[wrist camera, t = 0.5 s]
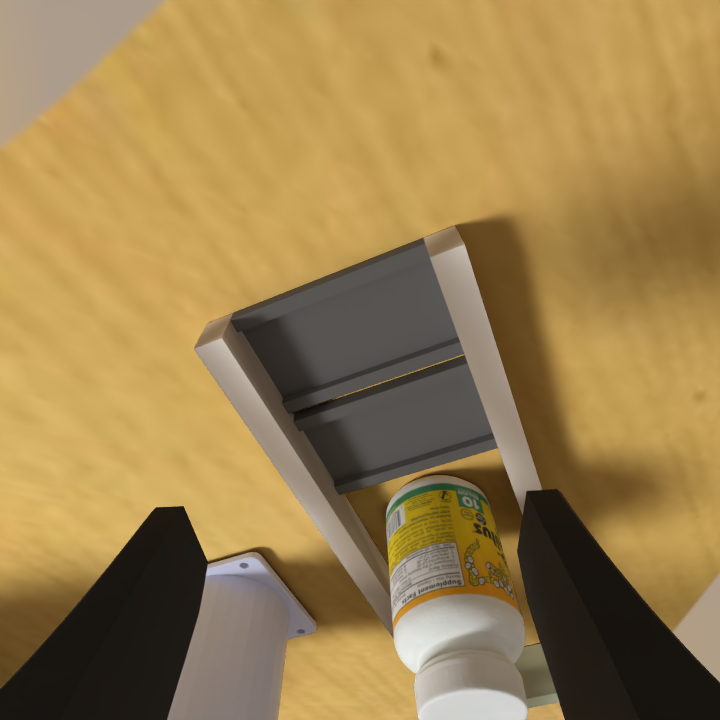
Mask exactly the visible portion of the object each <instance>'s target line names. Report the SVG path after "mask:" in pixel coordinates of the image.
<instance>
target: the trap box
mask: <svg viewBox="0 0 720 720" xmlns="http://www.w3.org/2000/svg"><path fill="white" fill-rule="evenodd" d="M424 241H425V244H426V247H427V250H428V253H429V256H430V259H431V262H432V265H433V268H434V270H435V273H436V276H437V279H438V282H439V284H440V287H441V290H442V293H443V295H444V298H445V301H446V304H447V307H448V309H449V312H450V315H451V318H452V321H453V323H454V326H455V329H456V332H457V334H458V337H459V340H460V343H461V346H462V348H463V351H464V354H465V357H466V360H467V362H468V365H469V368H470V371H471V373H472V376H473V379H474V382H475V385H476V387H477V390H478V393H479V396H480V398H481V401H482V404H483V407H484V410H485V412H486V415H487V418H488V421H489V424H490V426H491V429H492V432H493V435H494V437H495V440H496V443H497V446H498V449H499V451H500V454H501V457H502V460H503V463H504V465H505V468H506V471H507V474H508V476H509V479H510V482H511V485H512V488H513V490H514V493H515V496H516V499H517V501H518V504H519V507H520V510H521V513H522V515H523V510H524V504H525V497H526V491H532V490H542V488H541V484H540V481H539V478H538V475H537V472H536V469H535V465H534V462H533V459H532V456H531V453H530V450H529V446H528V443H527V440H526V437H525V434H524V431H523V427H522V424H521V421H520V418H519V415H518V412H517V408H516V405H515V402H514V399H513V396H512V393H511V389H510V386H509V383H508V380H507V377H506V374H505V370H504V367H503V364H502V361H501V358H500V355H499V352H498V348H497V345H496V342H495V339H494V336H493V333H492V329H491V326H490V323H489V320H488V317H487V314H486V310H485V307H484V304H483V301H482V298H481V295H480V291H479V288H478V285H477V282H476V279H475V276H474V272H473V269H472V266H471V263H470V260H469V257H468V253H467V250H466V247H465V244H464V242H463V240H462V238H461V236H460V235H459V233H458V231H457V229H456V227H455V226H452V227H450V228H447V229H445V230H442V231H439V232H437V233H434V234H432V235H429V236H427V237H424ZM232 314H233V313H232ZM232 314H230V315H227V316H225V317H222V318H220V319H217V320H215V321H212V322H210V323H207V325H206V327H205V328H204V330H203V332H202V334H201V336H200V338H199V340H198V342H197V344H196V345H195V347H194V350H195V352H196V353H197V355H198V356H199V357H200V359H201V360H202V362H203V363H204V365H205V366H206V368H207V369H208V371H209V372H210V373H211V375H212V376H213V378H214V379H215V381H216V382H217V384H218V385H219V386H220V388H221V389H222V391H223V392H224V394H225V395H226V397H227V398H228V399H229V401H230V402H231V404H232V405H233V407H234V408H235V410H236V411H237V413H238V414H239V415H240V417H241V418H242V420H243V421H244V423H245V424H246V426H247V427H248V428H249V430H250V431H251V433H252V434H253V436H254V437H255V439H256V440H257V442H258V443H259V444H260V446H261V447H262V449H263V450H264V452H265V453H266V455H267V456H268V457H269V459H270V460H271V462H272V463H273V465H274V466H275V468H276V469H277V470H278V472H279V473H280V475H281V476H282V478H283V479H284V481H285V482H286V484H287V485H288V486H289V488H290V489H291V491H292V492H293V494H294V495H295V497H296V498H297V499H298V501H299V502H300V504H301V505H302V507H303V508H304V510H305V511H306V513H307V514H308V515H309V517H310V518H311V520H312V521H313V523H314V524H315V526H316V527H317V528H318V530H319V531H320V533H321V534H322V536H323V537H324V539H325V540H326V541H327V543H328V544H329V546H330V547H331V549H332V550H333V552H334V553H335V555H336V556H337V557H338V559H339V560H340V562H341V563H342V565H343V566H344V568H345V569H346V570H347V572H348V573H349V575H350V576H351V578H352V579H353V581H354V582H355V583H356V585H357V586H358V588H359V589H360V591H361V592H362V594H363V595H364V597H365V598H366V599H367V601H368V602H369V604H370V605H371V607H372V608H373V610H374V611H375V612H376V614H377V615H378V617H379V618H380V620H381V621H382V623H383V624H384V626H385V627H386V628H387V630H388V631H389V633H390V634H391V636H392V637H393V639H394V635H393V622H392V606H391V591H390V575H389V566H388V564H387V563H386V561H385V560H384V558H383V556H382V555H381V553H380V551H379V550H378V548H377V547H376V545H375V543H374V542H373V540H372V538H371V537H370V535H369V533H368V532H367V530H366V529H365V527H364V525H363V524H362V522H361V520H360V519H359V517H358V516H357V514H356V512H355V511H354V509H353V507H352V506H351V504H350V503H349V501H348V499H347V498H346V496H345V494H342V495H339V494H338V493H337V491H336V490H335V488H334V480H333V478H332V477H331V475H330V473H329V472H328V470H327V468H326V467H325V465H324V464H323V462H322V460H321V459H320V457H319V455H318V454H317V452H316V451H315V449H314V447H313V446H312V444H311V443H310V441H309V439H308V438H307V436H306V434H305V433H304V431H300V432H299V430H298V429H297V427H296V425H295V424H294V422H293V421H294V415H295V413H294V412H292V413H289V414H288V413H287V411H286V409H285V408H284V406H283V405H282V401H283V397H282V396H281V394H280V392H279V391H278V389H277V387H276V386H275V384H274V383H273V381H272V379H271V378H270V376H269V375H268V373H267V371H266V370H265V368H264V366H263V365H262V363H261V362H260V360H259V358H258V357H257V355H256V353H255V352H254V350H253V349H252V347H251V345H250V344H249V342H248V341H247V339H246V337H245V336H244V334H243V332H242V331H241V332H237V331H236V329H235V328H234V326H233V324H232V323H231V321H230V319H231V317H232ZM514 665H515V666H516V668H517V670H518V671H519V673H520V674H521V676H522V679H523V686H524V690H525V694H526V699H527V704H528V708H532V707H537V706H542V705H548V704H553V703H558V702H559V699H558V696H557V693H556V690H555V687H554V684H553V681H552V677H551V674H550V671H549V668H548V665H547V662H546V659H545V655H544V652H543V649H542V646H541V643H540V644H536V645H531V646H526V647H524V648H523V651H522V653H521V655H520V657H519V658H518V660H517V661H516V662H515V663H514Z"/></svg>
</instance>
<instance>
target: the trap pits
mask: <svg viewBox="0 0 720 720" xmlns="http://www.w3.org/2000/svg"><path fill="white" fill-rule="evenodd" d="M230 321H231V323H232V324H233V326H234V328H235V329H236V331H237V332H241V331H242V332H243V334H244V336H245V337H246V339H247V341H248V342H249V344H250V345H251V347H252V349H253V350H254V352H255V353H256V355H257V357H258V358H259V360H260V362H261V363H262V365H263V366H264V368H265V370H266V371H267V373H268V375H269V376H270V378H271V379H272V381H273V383H274V384H275V386H276V387H277V389H278V391H279V392H280V394H281V396H282V397H283V401H282V405H283V406H284V408H285V409H286V411H287V413H288V414H289V413H292V412H295V411H298V410H301V409H304V408H307V407H310V406H312V405H315V404H318V403H321V402H324V401H327V400H330V399H333V398H336V397H339V396H342V395H345V394H348V393H351V392H353V391H356V390H359V389H362V388H365V387H368V386H371V385H374V384H377V383H380V382H383V381H386V380H389V379H392V378H394V377H397V376H400V375H403V374H406V373H409V372H412V371H415V370H418V369H421V368H424V367H427V366H430V365H432V364H435V363H438V362H441V361H444V360H447V359H450V358H453V357H456V356H459V355H462V354H464V351H463V348H462V346H461V343H460V340H459V337H458V334H457V332H456V329H455V326H454V323H453V321H452V318H451V315H450V312H449V309H448V307H447V304H446V301H445V298H444V295H443V293H442V290H441V287H440V284H439V282H438V279H437V276H436V273H435V270H434V268H433V265H432V262H431V259H430V256H429V253H428V250H427V247H426V244H425V241H424V238H422V239H419V240H417V241H414V242H412V243H409V244H407V245H404V246H402V247H399V248H397V249H394V250H391V251H389V252H386V253H384V254H381V255H379V256H376V257H374V258H371V259H369V260H366V261H364V262H361V263H359V264H356V265H354V266H351V267H349V268H346V269H343V270H341V271H338V272H336V273H333V274H331V275H328V276H326V277H323V278H321V279H318V280H316V281H313V282H311V283H308V284H306V285H303V286H301V287H298V288H295V289H293V290H290V291H288V292H285V293H283V294H280V295H278V296H275V297H273V298H270V299H268V300H265V301H263V302H260V303H258V304H255V305H253V306H250V307H247V308H245V309H242V310H240V311H237V312H235V313H233V314H232V317H231V319H230ZM293 422H294V424H295V425H296V427H297V429H298V430H299V432H300V431H304V433H305V434H306V436H307V438H308V439H309V441H310V443H311V444H312V446H313V447H314V449H315V451H316V452H317V454H318V455H319V457H320V459H321V460H322V462H323V464H324V465H325V467H326V468H327V470H328V472H329V473H330V475H331V477H332V478H333V480H334V488H335V490H336V491H337V493H338V494H339V495H342V494H345V493H348V492H352V491H355V490H358V489H362V488H365V487H368V486H372V485H375V484H379V483H382V482H385V481H389V480H392V479H395V478H399V477H402V476H405V475H409V474H412V473H415V472H419V471H422V470H425V469H429V468H432V467H435V466H439V465H442V464H445V463H449V462H452V461H456V460H459V459H462V458H466V457H469V456H472V455H476V454H479V453H482V452H486V451H489V450H492V449H496V448H498V446H497V443H496V440H495V437H494V435H493V432H492V429H491V426H490V424H489V421H488V418H487V415H486V412H485V410H484V407H483V404H482V401H481V398H480V396H479V393H478V390H477V387H476V385H475V382H474V379H473V376H472V373H471V371H470V368H469V365H468V362H467V360H466V357H465V356H462V357H459V358H456V359H453V360H450V361H448V362H445V363H442V364H439V365H436V366H433V367H430V368H427V369H424V370H421V371H418V372H415V373H412V374H409V375H406V376H404V377H401V378H398V379H395V380H392V381H389V382H386V383H383V384H380V385H377V386H374V387H371V388H368V389H365V390H362V391H360V392H357V393H354V394H351V395H348V396H345V397H342V398H339V399H336V400H333V401H330V402H327V403H324V404H321V405H318V406H315V407H313V408H310V409H307V410H304V411H301V412H298V413H295V415H294V421H293Z"/></svg>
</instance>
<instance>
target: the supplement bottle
mask: <svg viewBox="0 0 720 720" xmlns="http://www.w3.org/2000/svg"><path fill="white" fill-rule="evenodd" d="M386 533H387V547H388V560H389V575H390V591H391V606H392V622H393V635H394V643H395V647H396V650H397V653H398V655H399V657H400V659H401V660H402V661H403V663H404V664H405V665H406V666H407V667H408V668H409V669H410V670H411V671H413V672H414V673H416V677H415V683H414V691H415V696H416V704H417V713H418V719H419V720H526V718H527V716H528V704H527V699H526V694H525V690H524V686H523V679H522V676H521V674H520V673H519V671H518V670H517V668H516V666H515V665H514V663H515V662H516V661H517V660H518V658H519V657H520V655H521V653H522V651H523V648H524V645H525V638H526V633H525V626H524V621H523V616H522V613H521V610H520V606H519V603H518V600H517V596H516V593H515V590H514V586H513V582H512V579H511V576H510V573H509V570H508V566H507V562H506V559H505V556H504V553H503V550H502V545H501V542H500V538H499V535H498V532H497V528H496V525H495V521H494V518H493V514H492V511H491V508H490V504H489V502H488V499H487V498H486V496H485V495H484V493H483V492H482V491H481V490H480V489H479V488H478V487H477V486H476V485H474V484H472V483H470V482H468V481H465V480H463V479H460V478H457V477H454V476H447V475H433V476H427V477H423V478H420V479H417V480H414V481H412V482H410V483H408V484H406V485H405V486H403V487H402V488H401V489H400V490H399V491H397V492H396V493H395V495H394V496H393V497H392V499H391V500H390V502H389V504H388V507H387V511H386Z"/></svg>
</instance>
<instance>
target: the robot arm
mask: <svg viewBox="0 0 720 720" xmlns="http://www.w3.org/2000/svg"><path fill="white" fill-rule="evenodd" d="M517 553H518V558H519V563H520V568H521V573H522V578H523V583H524V587H525V592H526V597H527V601H528V605H529V608H530V611H531V614H532V618H533V621H534V624H535V627H536V630H537V633H538V637H539V640H540V643H541V646H542V649H543V652H544V655H545V659H546V662H547V665H548V668H549V671H550V674H551V677H552V681H553V684H554V687H555V690H556V693H557V696H558V699H559V702H560V706H561V709H562V712H563V715H564V718H565V720H720V682H719V681H718V680H717V679H716V678H715V677H714V676H713V675H712V674H711V673H710V672H709V671H708V670H707V669H706V668H705V667H704V666H703V665H702V664H701V663H700V662H699V661H698V660H697V659H696V658H695V657H694V656H693V654H691V652H690V651H689V650H688V649H687V648H686V647H685V646H684V645H683V644H682V643H681V642H680V640H679V639H678V638H677V637H676V636H675V635H674V634H673V633H672V632H671V630H670V629H669V628H668V627H667V626H666V625H665V624H664V623H663V622H662V620H661V619H660V618H659V617H658V616H657V615H656V614H655V612H654V611H653V610H652V609H651V608H650V607H649V606H648V604H647V603H646V602H645V601H644V600H643V599H642V597H641V596H640V595H639V594H638V593H637V591H636V590H635V589H634V588H633V587H632V585H631V584H630V583H629V582H628V580H627V579H626V578H625V577H624V576H623V574H622V573H621V572H620V571H619V570H618V568H617V567H616V566H615V565H614V563H613V562H612V561H611V560H610V558H609V557H608V556H607V555H606V553H605V552H604V551H603V549H602V548H601V547H600V545H599V544H598V543H597V541H596V540H595V539H594V538H593V536H592V535H591V534H590V532H589V531H588V530H587V528H586V527H585V526H584V524H583V523H582V521H581V520H580V519H579V517H578V516H577V515H576V513H575V512H574V510H573V509H572V508H571V506H570V505H569V503H568V502H567V500H566V499H565V498H564V496H563V495H562V493H561V492H559V491H558V490H557V489H554V490H532V491H526V497H525V504H524V510H523V517H522V523H521V530H520V536H519V543H518V549H517ZM316 625H317V624H316V622H315V621H314V620H313V618H312V617H311V616H310V615H309V613H308V612H307V611H306V610H305V609H304V607H303V606H302V605H301V604H300V602H299V601H298V600H297V599H296V598H295V596H294V595H293V594H292V593H291V591H290V590H289V589H288V588H287V586H286V585H285V584H284V583H283V582H282V580H281V579H280V578H279V577H278V575H277V574H276V573H275V572H274V570H273V569H272V568H271V567H270V566H269V564H268V563H267V562H266V561H265V559H264V558H263V557H262V556H261V555H260V554H259V553H256V552H249V553H246V554H242V555H239V556H235V557H231V558H228V559H224V560H221V561H217V562H214V563H210V564H208V562H207V559H206V557H205V555H204V552H203V550H202V548H201V545H200V543H199V541H198V539H197V536H196V534H195V532H194V529H193V527H192V525H191V522H190V520H189V518H188V515H187V513H186V511H185V509H184V506H178V507H156V508H155V509H154V510H153V511H152V512H151V514H150V515H149V516H148V517H147V519H146V520H145V521H144V522H143V524H142V525H141V526H140V527H139V529H138V530H137V531H136V532H135V534H134V535H133V536H132V538H131V539H130V540H129V541H128V543H127V544H126V545H125V546H124V548H123V549H122V550H121V551H120V553H119V554H118V555H117V556H116V558H115V559H114V560H113V561H112V563H111V564H110V565H109V567H108V568H107V569H106V570H105V571H104V573H103V574H102V575H101V576H100V578H99V579H98V580H97V581H96V582H95V584H94V585H93V586H92V587H91V588H90V590H89V591H88V592H87V593H86V594H85V596H84V597H83V598H82V599H81V601H80V602H79V603H78V604H77V605H76V607H75V608H74V609H73V610H72V611H71V612H70V614H69V615H68V616H67V617H66V618H65V619H64V620H63V622H62V623H61V624H60V625H59V626H58V627H57V628H56V629H55V631H54V632H53V633H52V634H51V635H50V636H49V637H48V638H47V640H46V641H45V642H44V643H43V644H42V645H41V646H40V647H39V649H38V650H37V651H36V652H35V653H34V654H33V655H32V656H31V657H30V658H29V660H28V661H27V662H26V663H25V664H24V665H23V666H22V667H21V668H20V669H19V670H18V671H17V672H16V673H15V674H14V675H13V677H12V678H11V679H10V680H9V681H8V682H7V683H6V684H5V685H4V686H3V687H2V688H1V689H0V720H278V714H279V706H280V697H281V689H282V680H283V671H284V663H285V654H286V646H287V639H291V638H295V637H299V636H303V635H307V634H311V633H314V632H315V631H316Z"/></svg>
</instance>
